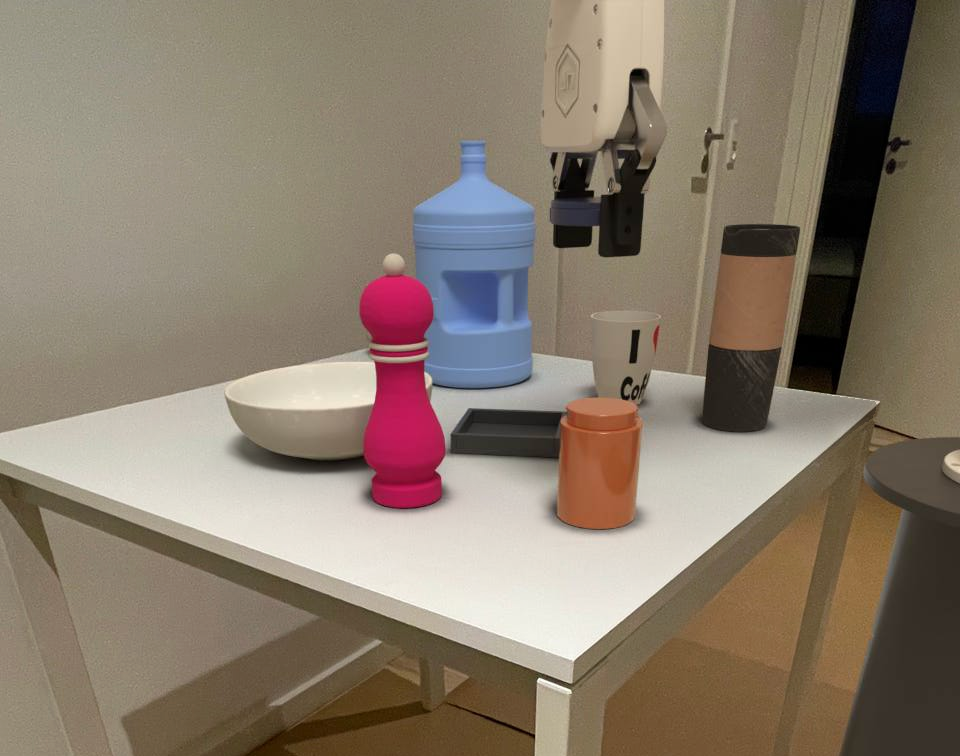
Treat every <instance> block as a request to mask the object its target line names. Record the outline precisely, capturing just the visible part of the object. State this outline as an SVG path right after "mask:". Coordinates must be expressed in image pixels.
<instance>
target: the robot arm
mask: <svg viewBox="0 0 960 756" xmlns="http://www.w3.org/2000/svg"><path fill="white" fill-rule="evenodd" d="M544 47H545V48H544V59H543V74H542V91H541V112H540V142H541V144H542V147H543V148H544V149H545V150H546V151H547V152H549V153H550V158H549V162H550V165H551V169H552V171H553V174H552V179H551V185H552V186H551V187H552V189H553V192H554V193H553V196H554V197H553V200H555V199H562V198H576V197H595V189H589V188H590V185H591V181H592V177H593V173H594V170H595V166H596V161H597V157H598V154H599V152H601V153H600V154H601V160H602V165H603V173H604V178H605V185H606V191H607V194H601V195H600V197H601V205H600V225H599V226H598V227H599V228H598V243H597V244H598V247H597V253H598V255H599V257H601V258H623V257H636V256H638V255H639V254H640V252H641V250H642V249H641V248H642V235H643V222H644V211H643V210H644V208H645V195H646V194H647V193H648V192H649V189H650V186H651V184H650V183H651V180H650V176H651V174H652V172H653V171H654V168H655V166H656V163H657V156H658V154H659V152H660V150H661V148H662V146H663V144H664V141H665V139H666V137H667V134H668V124H667V123H666V120H665V118H664V116H663V114H662V111H661V109H662V108H661V107H662V99H663V98H662V97H663V84H664V59H665V0H550V7H549V15H548V22H547V27H546V39H545V46H544ZM579 160H581V162H579ZM619 160H623V161H622V164H621V166H620V161H619ZM552 226H553V230H552V244H553V247H554V248H556V249H573V248H574V249H575V248H588V247H590V246H591V245H592V242H593V227H594V226H564V225H555V224H552ZM942 471H943V472H944V474H945V475H946V476H947V477H949V478H950V479H951V480H953V481H955V482H957V483H959V484H960V450H956V451H953V452H951V453H949V454H948V455H947V456H945V458H944V461H943V465H942Z"/></svg>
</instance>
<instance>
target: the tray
mask: <svg viewBox="0 0 960 756" xmlns="http://www.w3.org/2000/svg"><path fill="white" fill-rule="evenodd" d="M566 415H567V410H566V411H565V410H564V411H562V410H560V411H559V410H536V409H534V410H533V409H504V408H500V409H499V408H476V407H475V408H473V407H469V408H467V409H466V411H465V412H464V414H463V416H462V417H461V419H460V420H459V421H458V423H457V424H456V426H454V429H453V430H452V431H451V432H450V453H451V454H464V455H485V456H486V455H489V456H514V457H532V458H533V457H535V458H536V457H537V458H556V459H557V458H558V459H559V442H560V420H561V418H563V417H564V416H566Z"/></svg>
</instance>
